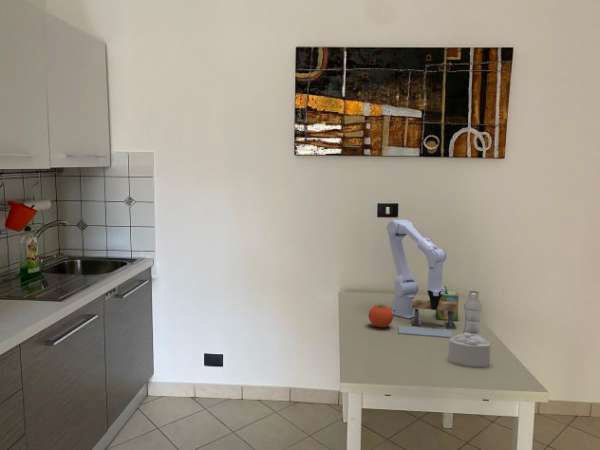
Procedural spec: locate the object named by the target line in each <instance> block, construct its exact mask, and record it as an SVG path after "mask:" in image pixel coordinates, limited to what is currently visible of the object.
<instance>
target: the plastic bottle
mask: <svg viewBox="0 0 600 450" xmlns="http://www.w3.org/2000/svg"><path fill="white" fill-rule="evenodd" d="M467 296H468V299H466V301H465V303H464V306H463V307H464V326H463V332H462V334H463V333H469V334H471V336H475V335H479V336H481V330H480V324H481V323H480V322H481V314H482V310H483V309H482V308H483V304H482V303H481V301H480V299H479V298H480V292H479V291H476V290H469V291H468V295H467Z"/></svg>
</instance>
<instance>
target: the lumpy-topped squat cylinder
mask: <svg viewBox="0 0 600 450" xmlns="http://www.w3.org/2000/svg"><path fill="white" fill-rule="evenodd" d="M448 339H449V340H448V352H447V353H448V355H447V358H448V359H447V360H448V361H449V362H450V363H453V364H457V365H460V366H465V367H471V368H472V367H473V368H474V367H479V368H482V367H483V368H484V367H489V366H490V359H491V356H490V355H491V343H490V342H488V341H487V339H486V338H484V337H482V335H480V336H479V335H475V336H471V334H469V333H463V332H462V333H461V334H456V335H455V336H453V337H452V338H448Z"/></svg>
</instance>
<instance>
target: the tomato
mask: <svg viewBox="0 0 600 450" xmlns="http://www.w3.org/2000/svg"><path fill="white" fill-rule="evenodd" d="M368 319H369V322H370V323H371V324H372V325H373V326H375V327H377V328H386V327H388V326H389V325H390V324H391V323H392V321H393V320H394V315H393V313H392V308H391V309H390V307H388V306H386V305H384V304H376V305H373V307H371V309H369V311H368Z"/></svg>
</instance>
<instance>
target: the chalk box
mask: <svg viewBox="0 0 600 450" xmlns="http://www.w3.org/2000/svg"><path fill="white" fill-rule="evenodd" d="M444 288H445V290H441V294H442V297H441V298H440V300H439V301H441V302H456V304H457V308H456V311H452V314H453V321H456V322H458V321H459V294H458V292H456V291H450V290H448V289H447V286H446V285H445V284H444ZM434 311H435V312H434V313H435V318H436V320H439V321H441V320H442V321H448V311H445V310H434Z"/></svg>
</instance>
